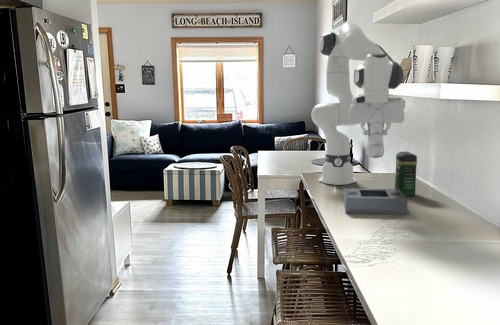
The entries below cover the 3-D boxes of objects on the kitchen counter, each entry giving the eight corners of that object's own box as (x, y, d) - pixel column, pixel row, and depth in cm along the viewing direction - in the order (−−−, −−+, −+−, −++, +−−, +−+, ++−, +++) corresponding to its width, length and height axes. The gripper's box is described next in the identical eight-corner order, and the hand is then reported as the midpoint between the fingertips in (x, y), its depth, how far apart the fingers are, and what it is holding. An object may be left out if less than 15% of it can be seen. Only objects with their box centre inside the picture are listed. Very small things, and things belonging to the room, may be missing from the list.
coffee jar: (417, 196, 179) (419, 153, 176) (398, 197, 180) (400, 154, 177) (410, 191, 189) (412, 150, 186) (392, 191, 190) (394, 150, 186)
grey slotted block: (343, 202, 174) (343, 187, 173) (399, 203, 170) (399, 188, 169) (345, 213, 159) (345, 197, 158) (406, 214, 156) (407, 198, 155)
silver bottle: (377, 159, 157) (379, 105, 153) (362, 157, 162) (363, 105, 158) (387, 157, 161) (389, 104, 157) (372, 155, 166) (373, 104, 162)
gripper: (403, 97, 159) (402, 133, 161) (348, 98, 162) (347, 134, 165) (407, 97, 153) (405, 135, 155) (349, 98, 156) (348, 136, 158)
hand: (375, 134), depth 160 cm, fingers closed on silver bottle, 6 cm apart
